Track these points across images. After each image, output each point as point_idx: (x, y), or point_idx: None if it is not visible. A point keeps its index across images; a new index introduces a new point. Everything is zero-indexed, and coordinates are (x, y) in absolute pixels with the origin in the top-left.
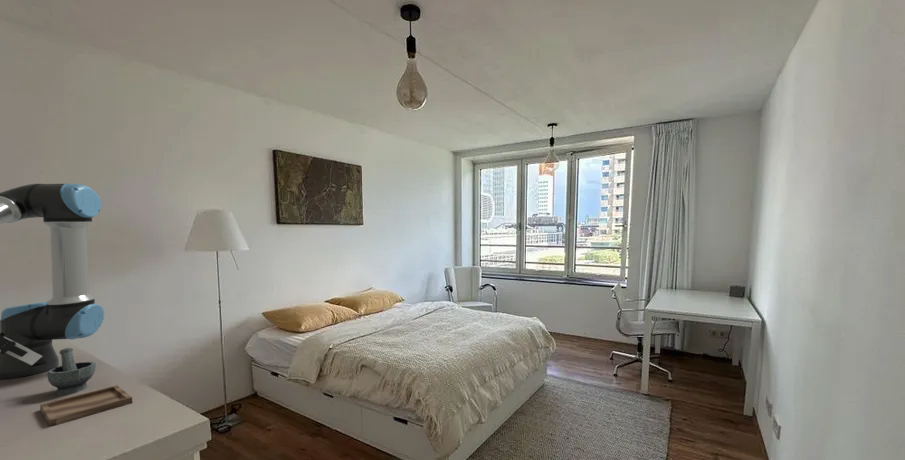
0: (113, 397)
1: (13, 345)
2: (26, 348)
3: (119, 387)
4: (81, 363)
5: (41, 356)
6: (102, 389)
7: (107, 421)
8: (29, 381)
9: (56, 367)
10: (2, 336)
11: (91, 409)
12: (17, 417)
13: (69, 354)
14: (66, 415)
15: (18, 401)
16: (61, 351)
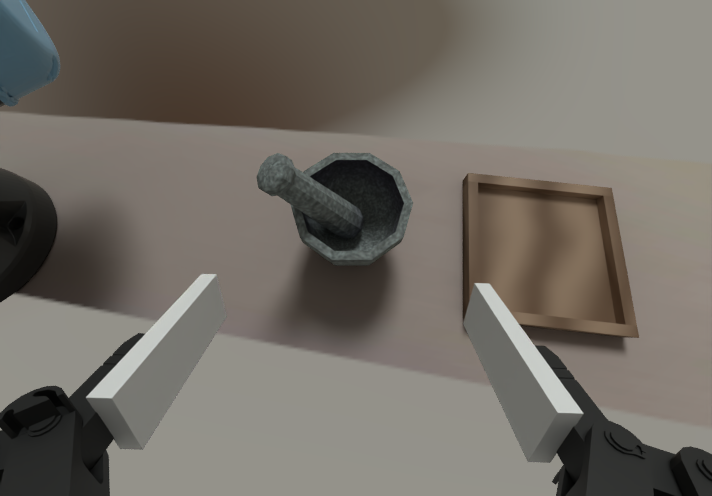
0: (538, 204)
1: (659, 450)
2: (532, 348)
3: (495, 176)
4: (317, 173)
5: (489, 288)
6: (474, 201)
7: (689, 260)
8: (124, 266)
9: (299, 229)
10: (73, 408)
11: (622, 261)
12: (473, 363)
13: (304, 178)
14: (631, 306)
15: (318, 330)
16: (283, 188)
